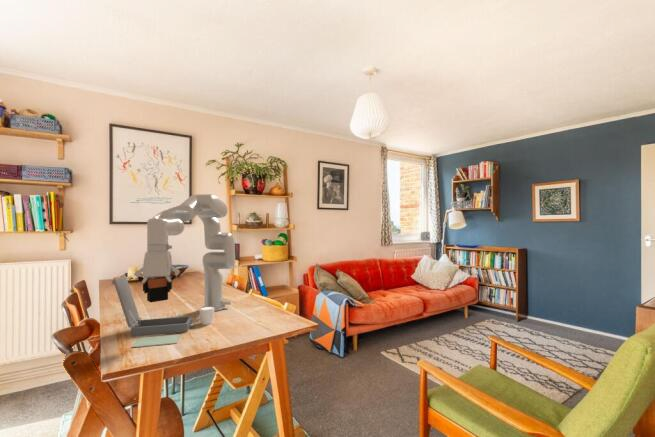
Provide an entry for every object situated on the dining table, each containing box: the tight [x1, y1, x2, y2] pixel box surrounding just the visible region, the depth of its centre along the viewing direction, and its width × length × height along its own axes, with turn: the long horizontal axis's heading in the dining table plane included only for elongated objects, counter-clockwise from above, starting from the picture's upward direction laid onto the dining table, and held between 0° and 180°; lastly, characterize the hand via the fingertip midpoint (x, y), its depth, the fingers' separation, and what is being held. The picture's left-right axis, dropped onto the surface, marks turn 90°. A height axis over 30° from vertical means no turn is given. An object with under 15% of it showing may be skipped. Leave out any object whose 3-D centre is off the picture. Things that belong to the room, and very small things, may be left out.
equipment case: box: [128, 310, 192, 337], centre depth 143 cm, size 23×12×11 cm, turn 105°
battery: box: [146, 277, 169, 303], centre depth 129 cm, size 4×7×10 cm, turn 134°
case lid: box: [113, 275, 140, 329], centre depth 139 cm, size 21×12×1 cm
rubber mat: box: [130, 333, 182, 349], centre depth 129 cm, size 16×10×1 cm, turn 105°
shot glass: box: [198, 306, 215, 326], centre depth 153 cm, size 7×7×7 cm
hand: (157, 291), depth 129 cm, fingers closed on battery, 7 cm apart
